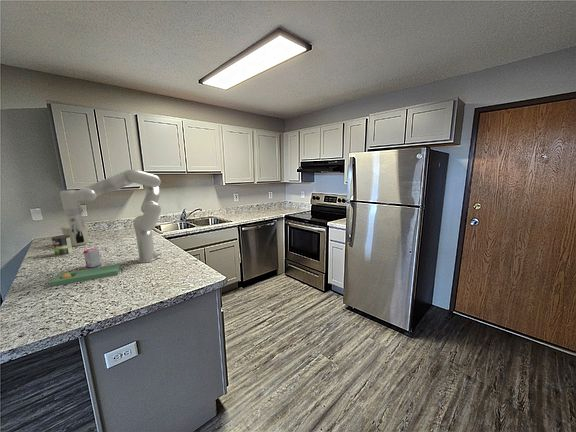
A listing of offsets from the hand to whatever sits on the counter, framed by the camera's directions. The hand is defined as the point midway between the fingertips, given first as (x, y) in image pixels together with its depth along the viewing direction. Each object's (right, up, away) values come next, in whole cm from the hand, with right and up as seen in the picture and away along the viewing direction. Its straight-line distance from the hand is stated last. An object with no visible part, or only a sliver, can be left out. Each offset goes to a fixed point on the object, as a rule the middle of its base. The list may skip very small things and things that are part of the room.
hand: (80, 242), depth 139 cm
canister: (-62, -10, +68) cm, 93 cm away
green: (+3, -21, +2) cm, 21 cm away
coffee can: (-51, -14, +43) cm, 68 cm away
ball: (-5, -20, -3) cm, 20 cm away
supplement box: (-7, -18, +18) cm, 27 cm away
